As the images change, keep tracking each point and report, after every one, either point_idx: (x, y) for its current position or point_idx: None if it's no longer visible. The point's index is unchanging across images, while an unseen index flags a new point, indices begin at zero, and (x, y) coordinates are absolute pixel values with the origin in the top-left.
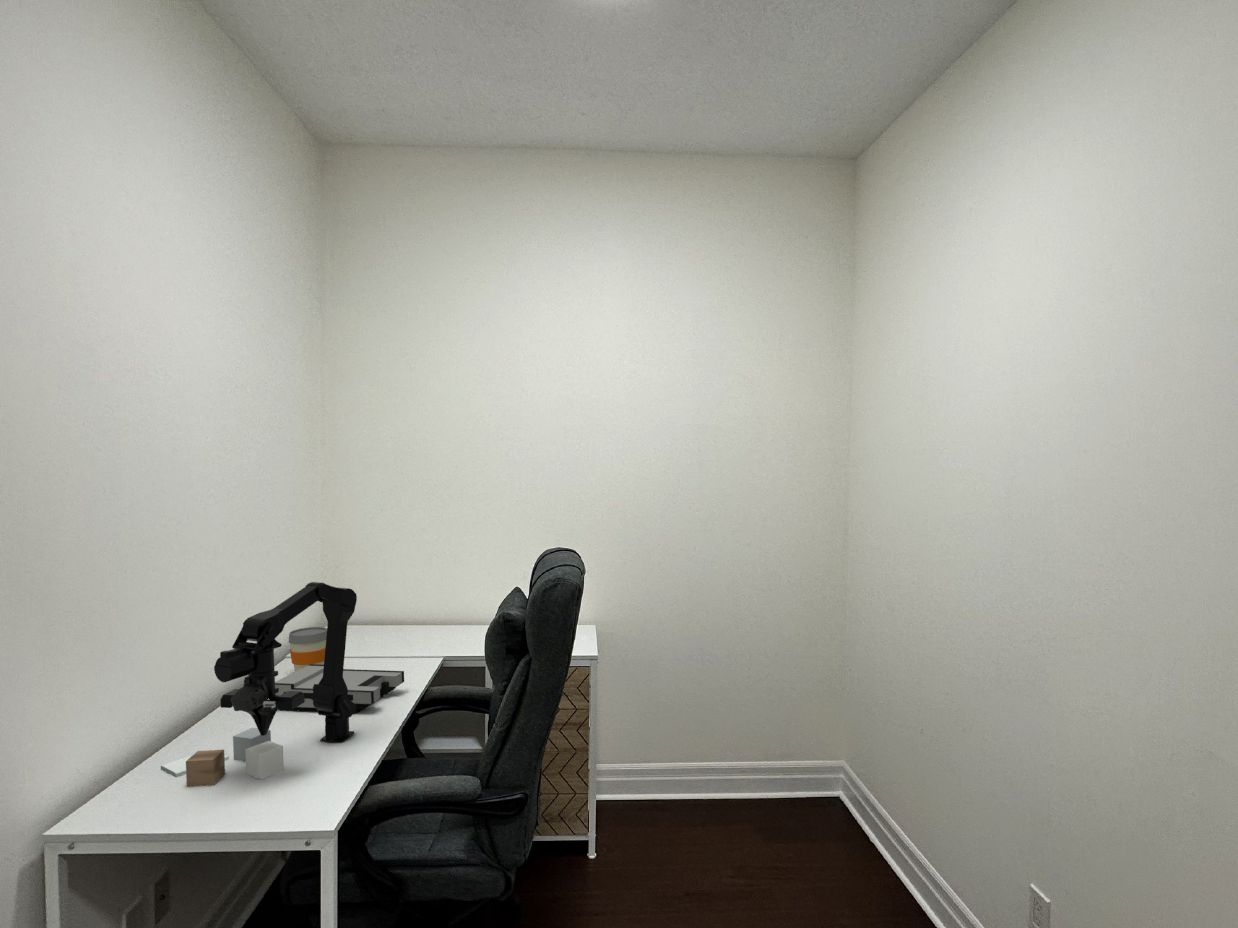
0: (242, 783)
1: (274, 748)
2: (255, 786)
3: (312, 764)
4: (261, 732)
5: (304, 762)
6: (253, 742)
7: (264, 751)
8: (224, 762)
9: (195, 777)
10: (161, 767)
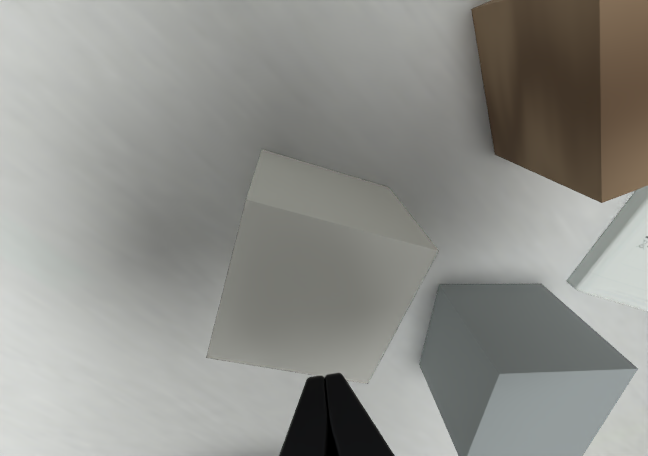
0: (317, 75)
1: (225, 312)
2: (206, 59)
3: (154, 338)
4: (332, 397)
5: (208, 342)
6: (480, 360)
7: (255, 256)
8: (534, 170)
9: None
10: None
